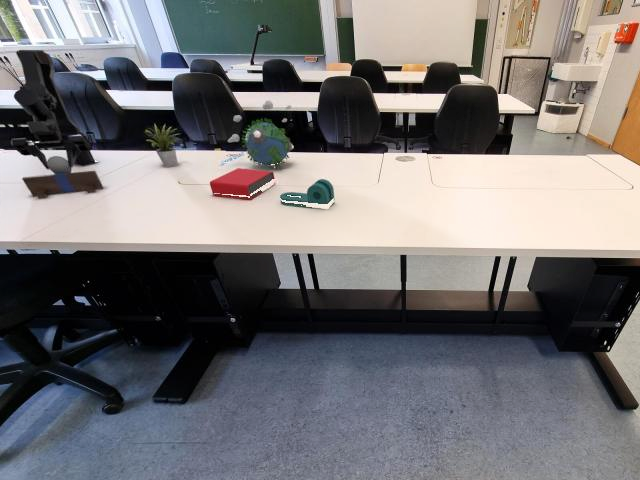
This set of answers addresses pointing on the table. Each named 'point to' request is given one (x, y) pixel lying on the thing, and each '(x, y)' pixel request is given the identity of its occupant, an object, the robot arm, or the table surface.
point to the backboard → (63, 183)
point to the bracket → (311, 194)
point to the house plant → (164, 146)
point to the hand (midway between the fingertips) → (59, 167)
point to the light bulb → (58, 165)
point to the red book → (241, 183)
